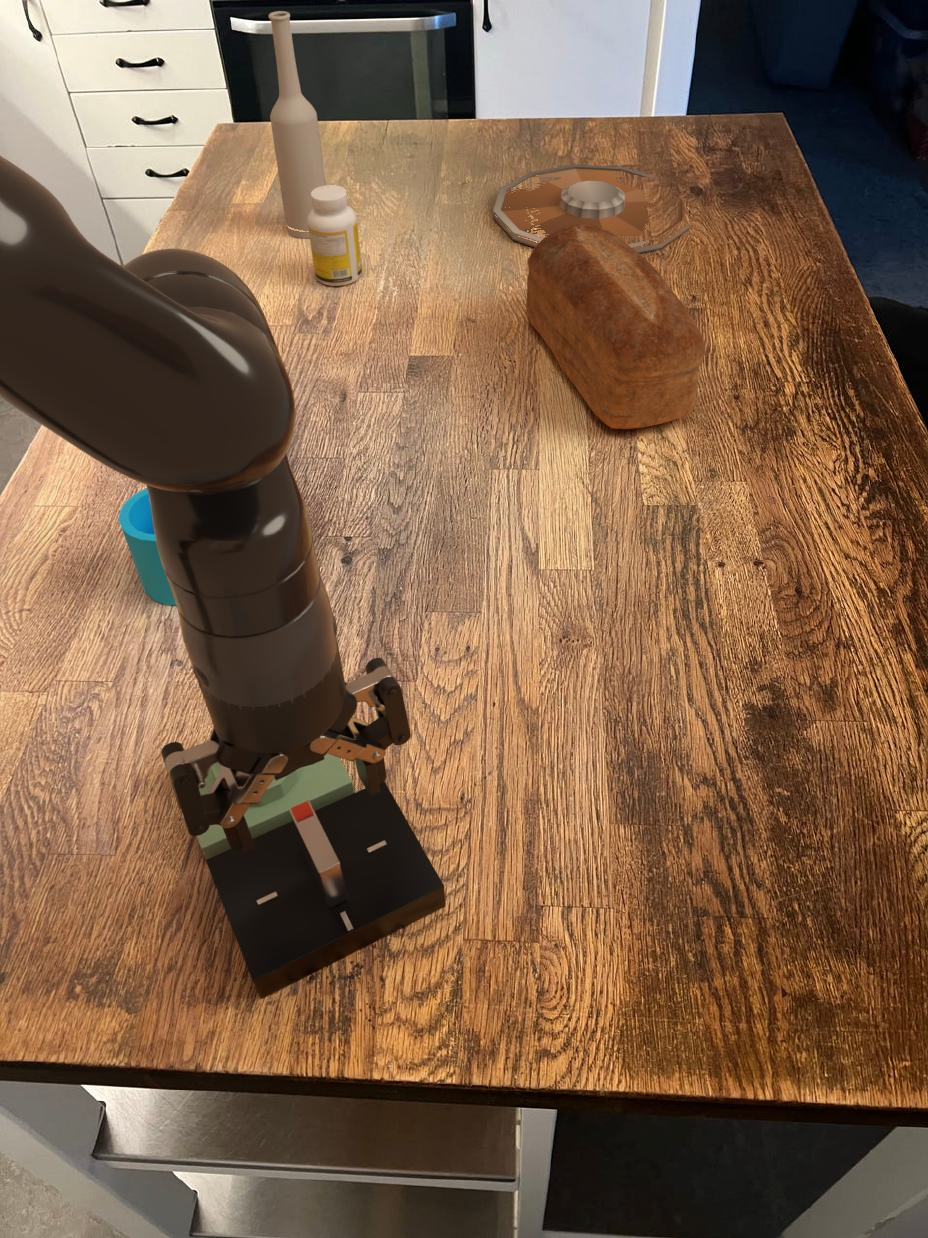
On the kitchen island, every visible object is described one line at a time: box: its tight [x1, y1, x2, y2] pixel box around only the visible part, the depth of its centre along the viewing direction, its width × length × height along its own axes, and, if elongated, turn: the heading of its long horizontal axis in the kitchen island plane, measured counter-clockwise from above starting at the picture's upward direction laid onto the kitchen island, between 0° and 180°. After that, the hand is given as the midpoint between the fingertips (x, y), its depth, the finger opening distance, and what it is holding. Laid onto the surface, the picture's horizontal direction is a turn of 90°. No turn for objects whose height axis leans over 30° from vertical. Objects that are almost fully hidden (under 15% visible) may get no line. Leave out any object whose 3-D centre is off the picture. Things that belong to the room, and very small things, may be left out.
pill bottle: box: [307, 184, 363, 287], centre depth 129 cm, size 6×6×12 cm
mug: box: [118, 487, 177, 607], centre depth 89 cm, size 12×8×8 cm
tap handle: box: [289, 800, 348, 908], centre depth 65 cm, size 6×2×5 cm, turn 28°
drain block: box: [195, 754, 355, 861], centre depth 75 cm, size 12×9×4 cm
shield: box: [492, 163, 691, 254], centre depth 144 cm, size 30×3×30 cm
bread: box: [525, 224, 706, 430], centre depth 111 cm, size 12×31×14 cm, turn 17°
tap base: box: [205, 781, 447, 1000], centre depth 68 cm, size 14×10×3 cm
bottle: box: [267, 10, 327, 239], centre depth 133 cm, size 7×7×28 cm
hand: (308, 812), depth 62 cm, fingers open, 8 cm apart
